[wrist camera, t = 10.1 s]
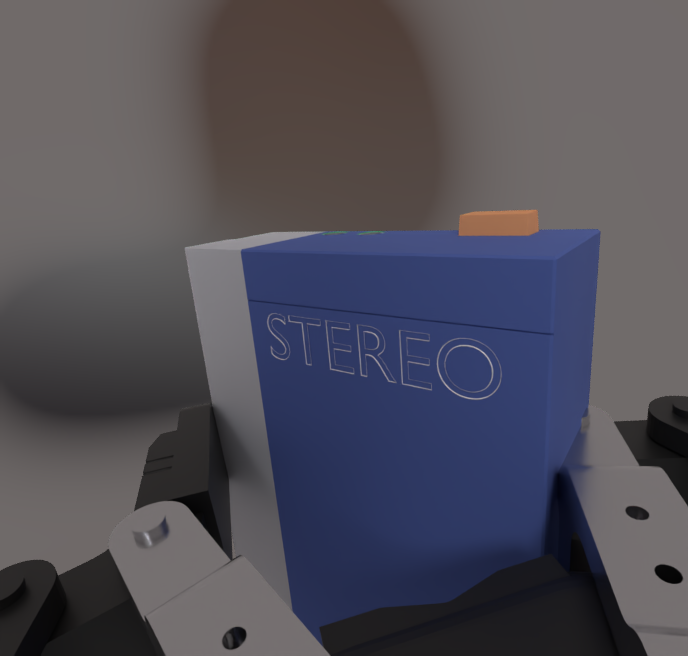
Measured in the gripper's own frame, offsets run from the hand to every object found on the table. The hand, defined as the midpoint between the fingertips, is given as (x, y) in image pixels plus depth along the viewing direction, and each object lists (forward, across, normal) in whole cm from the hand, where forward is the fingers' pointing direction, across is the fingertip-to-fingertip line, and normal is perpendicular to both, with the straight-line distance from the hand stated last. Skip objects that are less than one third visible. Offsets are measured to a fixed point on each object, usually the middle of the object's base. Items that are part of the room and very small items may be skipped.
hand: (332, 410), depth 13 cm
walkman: (-3, 0, +7) cm, 8 cm away
